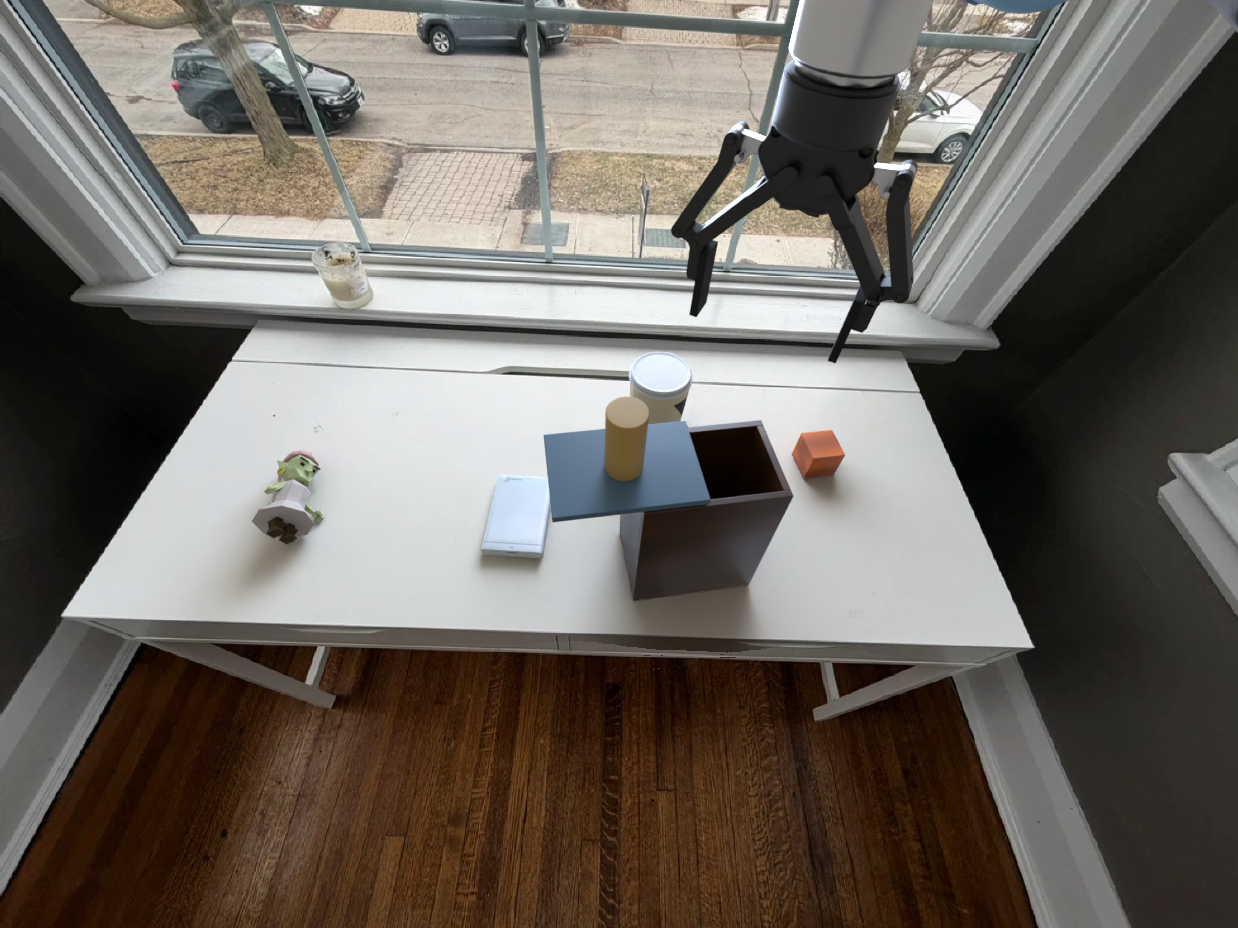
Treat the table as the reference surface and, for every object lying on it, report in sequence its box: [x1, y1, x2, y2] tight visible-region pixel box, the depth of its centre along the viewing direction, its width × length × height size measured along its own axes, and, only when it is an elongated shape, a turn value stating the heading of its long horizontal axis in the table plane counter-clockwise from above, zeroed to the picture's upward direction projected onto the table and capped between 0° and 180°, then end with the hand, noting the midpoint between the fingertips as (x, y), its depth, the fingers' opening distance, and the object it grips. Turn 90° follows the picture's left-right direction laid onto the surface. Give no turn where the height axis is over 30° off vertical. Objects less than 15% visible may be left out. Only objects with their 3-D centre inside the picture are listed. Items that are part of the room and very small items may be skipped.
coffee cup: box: [628, 351, 693, 424], centre depth 84 cm, size 9×9×12 cm
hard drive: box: [480, 474, 551, 559], centre depth 77 cm, size 2×8×12 cm
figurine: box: [251, 449, 325, 545], centre depth 75 cm, size 9×7×15 cm
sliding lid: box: [543, 396, 711, 523], centre depth 53 cm, size 11×16×9 cm
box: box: [619, 419, 794, 602], centre depth 66 cm, size 11×16×21 cm
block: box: [791, 429, 846, 480], centre depth 83 cm, size 5×5×5 cm
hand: (764, 330), depth 52 cm, fingers open, 13 cm apart
